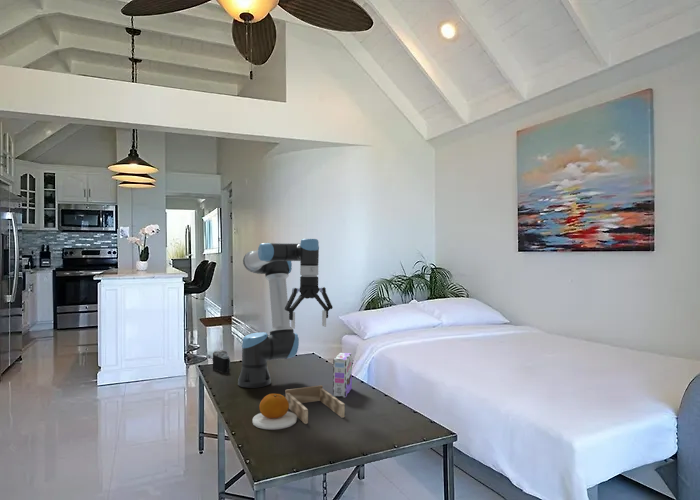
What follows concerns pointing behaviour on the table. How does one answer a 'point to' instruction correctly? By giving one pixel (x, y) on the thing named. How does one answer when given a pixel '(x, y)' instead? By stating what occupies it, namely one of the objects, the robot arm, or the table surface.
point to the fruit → (274, 406)
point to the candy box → (342, 374)
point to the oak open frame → (311, 395)
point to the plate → (274, 421)
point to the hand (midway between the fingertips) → (308, 327)
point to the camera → (221, 361)
